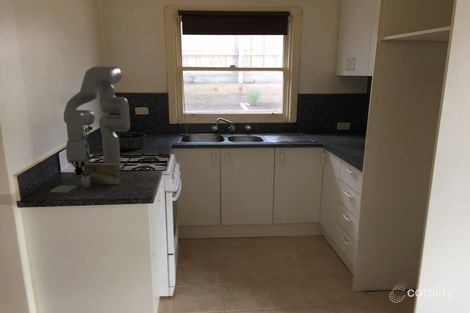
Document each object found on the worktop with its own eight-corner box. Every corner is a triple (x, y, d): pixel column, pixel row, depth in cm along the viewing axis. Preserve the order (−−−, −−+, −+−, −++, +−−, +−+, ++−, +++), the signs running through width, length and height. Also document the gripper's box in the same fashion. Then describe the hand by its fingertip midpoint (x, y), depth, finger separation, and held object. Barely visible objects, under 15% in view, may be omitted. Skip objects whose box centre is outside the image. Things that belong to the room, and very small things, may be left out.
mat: (60, 186, 183) (60, 185, 183) (77, 187, 182) (77, 186, 182) (49, 192, 174) (49, 190, 174) (67, 193, 173) (67, 191, 173)
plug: (84, 184, 186) (83, 171, 184) (92, 185, 185) (91, 172, 184) (80, 187, 182) (79, 173, 181) (88, 187, 182) (87, 174, 180)
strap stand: (87, 181, 192) (86, 162, 190) (120, 182, 190) (118, 164, 188) (84, 182, 190) (83, 164, 187) (117, 184, 187) (116, 165, 185)
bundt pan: (141, 151, 267) (141, 138, 265) (106, 151, 267) (105, 137, 265) (150, 145, 292) (150, 132, 290) (118, 144, 293) (117, 132, 291)
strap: (92, 169, 187) (92, 167, 187) (96, 169, 187) (96, 167, 187) (80, 175, 176) (80, 173, 176) (85, 175, 176) (85, 173, 176)
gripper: (95, 137, 177) (97, 173, 181) (66, 136, 179) (69, 172, 183) (86, 139, 170) (90, 177, 174) (57, 138, 172) (60, 176, 176)
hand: (79, 174), depth 178 cm, fingers closed
